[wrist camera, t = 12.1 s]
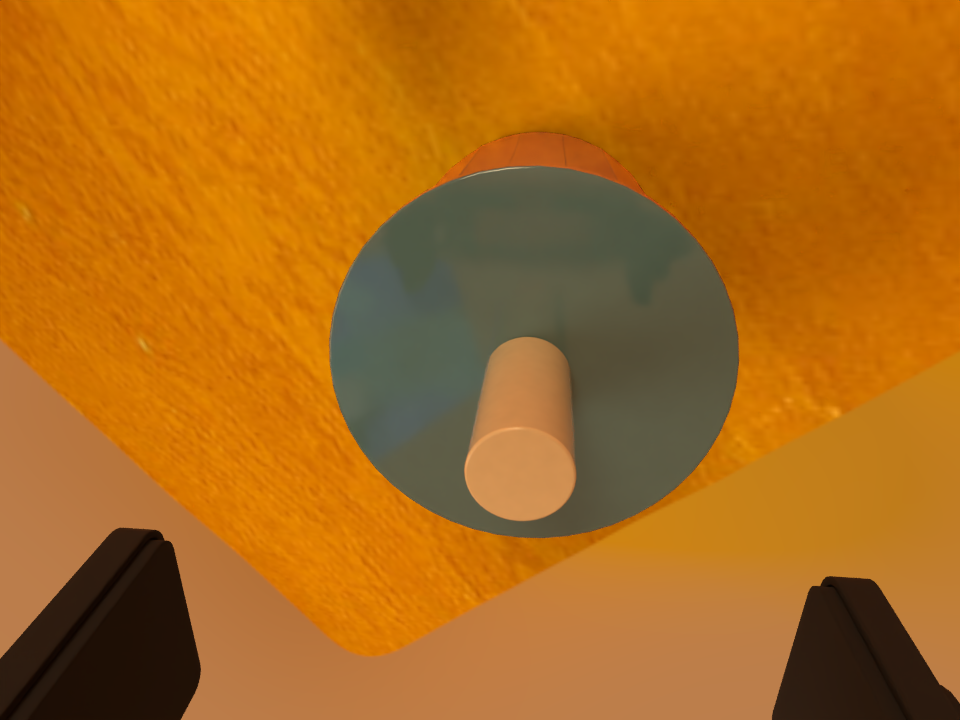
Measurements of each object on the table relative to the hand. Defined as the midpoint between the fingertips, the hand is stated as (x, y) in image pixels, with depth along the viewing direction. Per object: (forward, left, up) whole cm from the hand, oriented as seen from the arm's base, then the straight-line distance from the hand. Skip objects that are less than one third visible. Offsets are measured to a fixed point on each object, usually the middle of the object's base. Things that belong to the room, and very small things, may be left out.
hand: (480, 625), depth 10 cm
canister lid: (0, 0, -10) cm, 10 cm away
